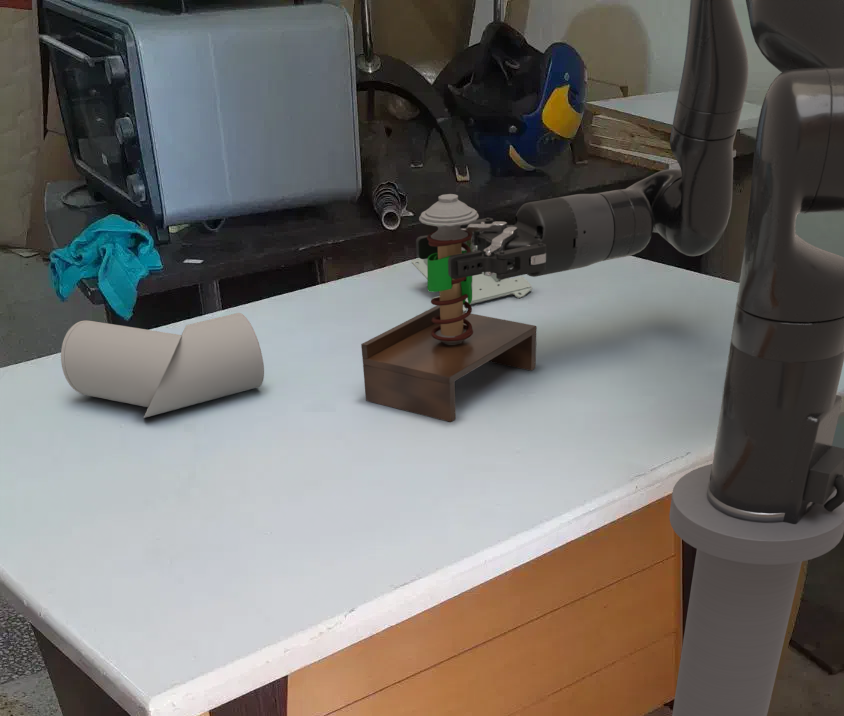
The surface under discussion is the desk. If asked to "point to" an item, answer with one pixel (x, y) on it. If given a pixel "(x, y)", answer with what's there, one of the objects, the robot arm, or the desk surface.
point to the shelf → (439, 361)
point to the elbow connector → (163, 362)
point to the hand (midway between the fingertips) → (433, 258)
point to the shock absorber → (451, 291)
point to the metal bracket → (487, 285)
